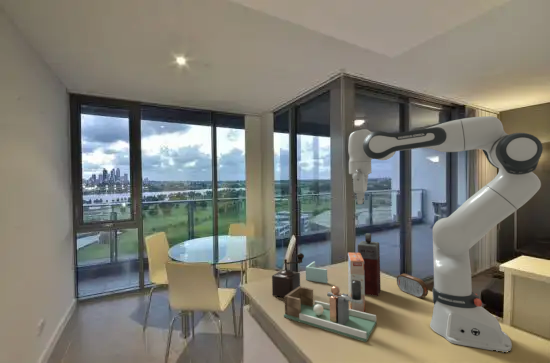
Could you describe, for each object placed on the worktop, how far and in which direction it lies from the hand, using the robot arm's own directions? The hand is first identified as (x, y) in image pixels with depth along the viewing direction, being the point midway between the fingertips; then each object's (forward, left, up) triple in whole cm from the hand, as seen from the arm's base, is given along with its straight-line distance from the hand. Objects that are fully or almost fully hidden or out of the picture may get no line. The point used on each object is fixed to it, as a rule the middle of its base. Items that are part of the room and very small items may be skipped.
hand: (361, 203), depth 110 cm
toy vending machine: (+5, -22, -45) cm, 50 cm away
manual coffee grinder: (+37, -2, -45) cm, 58 cm away
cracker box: (+5, -5, -45) cm, 45 cm away
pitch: (+10, +14, -44) cm, 47 cm away
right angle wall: (+32, -27, -45) cm, 61 cm away
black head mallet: (+3, +14, -43) cm, 45 cm away
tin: (-14, -29, -45) cm, 55 cm away
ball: (+14, +14, -41) cm, 46 cm away
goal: (+22, +14, -43) cm, 50 cm away
